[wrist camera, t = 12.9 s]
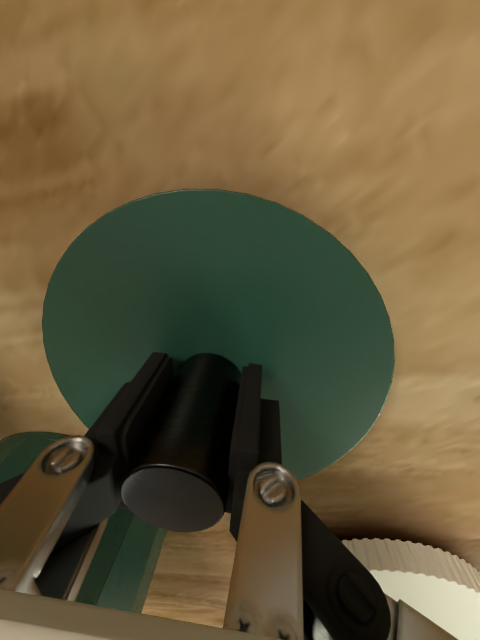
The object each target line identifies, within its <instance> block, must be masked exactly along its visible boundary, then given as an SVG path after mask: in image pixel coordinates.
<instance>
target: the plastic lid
mask: <svg viewBox="0 0 480 640" xmlns="http://www.w3.org/2000/svg"><path fill="white" fill-rule="evenodd" d="M342 543H343V544H344V545H345V546H346V547H347V549H348V550H349V551H350V552H351V553H352V554H353V555H354V556H355V557H356V558H357V559H358V560H359V561H360V562H361V563H362V564H363V565H364V567H365V568H366V569H367V570H368V571H369V572H370V573H371V574H372V575H373V577H374V578H375V579H376V581H377V582H378V583H379V585H380V587H381V588H382V590H383V592H384V593H385V594H386V595H388V596H389V597H391V598H392V599H394V600H395V601H396V602H398V601H399V599H401V600H402V601H404V602H405V603H406V604H408V605H409V606H411V607H412V608H414V609H415V610H417V611H418V612H419V613H421V614H422V615H424V616H425V617H427V618H428V619H430V620H431V621H432V622H434V623H435V624H437V625H438V626H440V627H441V628H442V629H444V630H445V631H447V632H448V633H450V634H451V635H453V636H454V637H455V638H457V639H458V640H480V572H478V571H477V569H476V568H473V567H472V565H471V564H470V563H466V561H465V560H464V559H459V557H458V556H457V555H451V553H450V552H448V551H446V552H443V551H442V549H440V548H436V549H434V548H433V547H432V546H430V545H427V546H423V545H422V543H416V544H414V543H412V542H411V541H406V542H402V541H401V540H398V539H396V540H394V541H393V540H390V539H386V538H385V539H384V540H379V538H374V539H372V540H369V539H368V538H363V539H362V540H358V539H352V540H351V541H348V540H342Z"/></svg>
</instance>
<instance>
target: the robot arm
mask: <svg viewBox="0 0 480 640" xmlns="http://www.w3.org/2000/svg"><path fill="white" fill-rule="evenodd" d="M173 379H174V378H173V359H172V358H171V357H169V356H168V354H167V353H159V352H153V353H152V354H151V355H150V356H149V358H148V359H147V360H146V362H145V363H144V364H143V366H142V367H141V368H140V370H139V371H138V373H137V374H136V375H135V377H134V378H133V379H132V381H131V382H126V383H125V384H124V385H123V386H122V387H121V388H120V390H119V391H118V392H117V394H116V395H115V396H114V398H113V399H112V400H111V402H110V403H109V404H108V405H107V407H106V408H105V409H104V411H103V412H102V413H101V415H100V416H99V417H98V419H97V420H96V421H95V422H94V424H93V425H92V426H91V428H90V429H89V430H88V432H87V433H86V434H85V436H80V435H78V436H69V437H66V438H62V439H60V440H58V441H56V442H54V443H52V444H51V445H50V446H48V447H47V448H46V449H45V450H44V451H43V452H42V453H41V454H40V455H39V456H38V457H37V459H36V460H35V461H34V462H33V464H32V465H31V466H30V468H29V469H28V470H27V471H26V472H24V473H22V474H20V475H18V476H15V477H13V478H11V479H9V480H7V481H4V482H2V483H0V640H458V639H457V638H455V637H454V636H453V635H451V634H450V633H448V632H447V631H445V630H444V629H442V628H441V627H440V626H438V625H437V624H435V623H434V622H432V621H431V620H430V619H428V618H427V617H425V616H424V615H422V614H421V613H419V612H418V611H417V610H415V609H414V608H412V607H411V606H409V605H408V604H406V603H405V602H404V601H402V600H401V599H399V601H398V602H396V601H395V600H394V599H392V598H391V597H389V596H388V595H386V594H385V593H384V592H383V590H382V588H381V587H380V585H379V583H378V582H377V581H376V579H375V578H374V577H373V575H372V574H371V573H370V572H369V571H368V570H367V569H366V568H365V567H364V565H363V564H362V563H361V562H360V561H359V560H358V559H357V558H356V557H355V556H354V555H353V554H352V553H351V552H350V551H349V550H348V549H347V547H346V546H345V545H344V544H343V543H342V542H341V541H340V540H339V539H338V538H337V537H336V536H335V535H334V534H333V533H332V532H331V531H330V530H329V528H328V527H327V526H326V525H325V524H324V523H323V522H322V521H321V520H320V519H319V518H318V517H317V516H316V515H315V514H314V513H313V512H312V510H311V509H310V508H309V507H308V506H307V505H306V504H305V503H304V502H303V501H302V500H301V491H300V486H299V482H298V480H297V478H296V476H295V475H294V474H293V473H292V472H291V471H290V470H289V469H288V468H286V467H285V466H284V465H282V452H281V430H280V408H279V401H278V400H270V399H261V381H262V364H254V363H249V365H248V366H243V369H242V375H241V381H240V388H239V394H238V401H237V407H236V413H235V420H234V426H233V433H232V439H231V446H230V456H229V468H228V481H229V489H228V496H227V503H226V510H225V512H227V513H231V520H230V532H231V534H232V535H233V537H234V538H235V540H236V541H237V546H236V552H235V558H234V564H233V570H232V576H231V582H230V588H229V594H228V600H227V606H226V612H225V618H224V624H223V628H218V627H213V626H207V625H202V624H196V623H191V622H185V621H180V620H174V619H169V618H163V617H158V616H152V615H147V614H141V613H135V612H130V611H124V610H118V609H113V608H107V607H101V606H96V605H90V604H84V603H79V602H75V600H76V597H77V595H78V592H79V590H80V588H81V585H82V583H83V580H84V578H85V576H86V573H87V571H88V568H89V566H90V563H91V561H92V559H93V556H94V554H95V551H96V549H97V547H98V544H99V542H100V539H101V537H102V535H103V532H104V530H105V527H106V525H107V522H108V518H109V517H110V516H111V515H113V514H114V513H115V512H116V510H117V508H124V509H128V508H127V507H126V505H125V504H124V502H123V500H122V498H121V495H120V483H121V480H122V477H123V475H124V473H125V472H126V470H127V468H128V466H129V464H130V462H131V460H132V458H133V456H134V454H135V452H136V450H137V448H138V446H139V444H140V443H141V441H142V439H143V437H144V435H145V433H146V431H147V429H148V427H149V425H150V423H151V421H152V419H153V417H154V416H155V414H156V412H157V410H158V408H159V406H160V404H161V402H162V400H163V398H164V396H165V394H166V392H167V390H168V389H169V387H170V385H171V383H172V381H173Z"/></svg>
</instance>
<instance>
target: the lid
mask: <svg viewBox="0 0 480 640" xmlns="http://www.w3.org/2000/svg"><path fill="white" fill-rule="evenodd" d="M42 328H43V342H44V347H45V351H46V356H47V361H48V363H49V366H50V369H51V372H52V374H53V377H54V379H55V381H56V383H57V385H58V387H59V389H60V391H61V393H62V395H63V396H64V398H65V400H66V401H67V403H68V404H69V406H70V407H71V409H72V410H73V411H74V412H75V414H76V415H77V416H78V417H79V419H80V420H81V421H82V422H83V423H84V424H85V425H86V426H87V427H88V428H89V429H90V428H91V426H92V425H93V424H94V422H95V421H96V420H97V419H98V417H99V416H100V415H101V413H102V412H103V411H104V409H105V408H106V407H107V405H108V404H109V403H110V402H111V400H112V399H113V398H114V396H115V395H116V394H117V392H118V391H119V390H120V388H121V387H122V386H123V385H124V384H125V383H126V382H131V381H132V379H133V378H134V377H135V375H136V374H137V373H138V371H139V370H140V368H141V367H142V366H143V364H144V363H145V362H146V360H147V359H148V358H149V356H150V355H151V354H152V353H153V352H159V353H167V354H168V356H169V357H171V358H172V359H173V378H174V379H173V381H172V383H171V385H170V387H169V389H168V390H167V392H166V394H165V396H164V398H163V400H162V402H161V404H160V406H159V408H158V410H157V412H156V414H155V416H154V417H153V419H152V421H151V423H150V425H149V427H148V429H147V431H146V433H145V435H144V437H143V439H142V441H141V443H140V444H139V446H138V448H137V450H136V452H135V454H134V456H133V458H132V460H131V462H130V464H129V466H128V468H127V470H126V472H125V473H124V475H123V477H122V480H121V483H120V495H121V498H122V500H123V502H124V504H125V505H126V507H127V508H128V509H129V510H130V511H131V512H132V513H133V514H134V515H136V516H137V517H138V518H140V519H141V520H143V521H145V522H147V523H149V524H151V525H153V526H156V527H159V528H162V529H165V530H170V531H175V532H197V531H202V530H205V529H208V528H210V527H212V526H214V525H215V524H217V523H218V522H219V521H220V520H221V518H222V517H223V515H224V513H225V510H226V503H227V496H228V489H229V481H228V468H229V456H230V446H231V439H232V433H233V426H234V420H235V413H236V407H237V401H238V394H239V388H240V381H241V375H242V369H243V366H248V365H249V363H254V364H262V381H261V399H270V400H278V401H279V408H280V430H281V452H282V465H284V466H285V467H286V468H288V469H289V470H290V471H291V472H292V473H293V474H294V475H295V476H296V478H297V480H299V479H302V478H305V477H308V476H310V475H312V474H314V473H316V472H318V471H321V470H323V469H325V468H326V467H328V466H330V465H331V464H333V463H334V462H336V461H337V460H339V459H341V458H342V457H343V456H344V455H345V454H347V453H348V452H349V451H350V450H351V449H353V448H354V447H355V446H356V445H357V444H358V443H359V442H360V441H361V440H362V438H363V437H364V436H365V435H366V434H367V433H368V431H369V430H370V429H371V427H372V426H373V424H374V423H375V421H376V420H377V418H378V417H379V414H380V412H381V410H382V408H383V406H384V404H385V402H386V400H387V396H388V393H389V390H390V387H391V383H392V377H393V370H394V363H395V359H394V338H393V333H392V328H391V323H390V319H389V315H388V313H387V310H386V308H385V305H384V302H383V300H382V297H381V295H380V293H379V291H378V290H377V288H376V286H375V285H374V283H373V281H372V279H371V278H370V276H369V274H368V273H367V271H366V270H365V269H364V268H363V266H362V265H361V264H360V263H359V262H358V260H357V259H356V258H355V257H354V255H353V254H352V253H351V252H350V251H349V250H348V249H347V248H346V247H345V246H344V245H342V244H341V243H340V242H339V241H338V240H337V239H336V238H335V237H334V236H332V235H331V234H330V233H329V232H328V231H326V230H325V229H323V228H322V227H320V226H319V225H317V224H316V223H314V222H312V221H311V220H309V219H308V218H306V217H305V216H303V215H302V214H300V213H297V212H295V211H293V210H291V209H289V208H287V207H285V206H283V205H280V204H278V203H276V202H273V201H270V200H266V199H263V198H260V197H257V196H253V195H250V194H246V193H239V192H233V191H226V190H220V189H182V190H175V191H168V192H162V193H156V194H153V195H149V196H146V197H143V198H140V199H137V200H133V201H130V202H128V203H126V204H124V205H122V206H120V207H118V208H116V209H114V210H112V211H110V212H108V213H106V214H105V215H104V216H102V217H101V218H99V219H98V220H97V221H95V222H94V223H93V224H91V225H90V226H88V227H87V228H86V229H85V230H84V231H83V232H82V233H81V234H80V235H79V236H78V237H77V238H76V239H75V240H74V241H73V242H72V243H71V245H70V246H69V247H68V249H67V250H66V252H65V253H64V255H63V256H62V258H61V259H60V261H59V262H58V264H57V266H56V268H55V270H54V273H53V275H52V277H51V279H50V282H49V284H48V288H47V292H46V296H45V300H44V306H43V318H42Z"/></svg>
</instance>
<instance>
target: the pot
mask: <svg viewBox="0 0 480 640" xmlns="http://www.w3.org/2000/svg"><path fill="white" fill-rule="evenodd" d="M66 437H69V435H64V434H58V433H50V432H26V433H19V434H15V435H11V436H8V437H6V438H4V439H2V440H0V483H2V482H4V481H7V480H9V479H11V478H13V477H15V476H18V475H20V474H22V473H24V472H26V471H27V470H28V469H29V468H30V466H31V465H32V464H33V462H34V461H35V460H36V459H37V457H38V456H39V455H40V454H41V453H42V452H43V451H44V450H45V449H46V448H47V447H48V446H50V445H51V444H52V443H54V442H56V441H58V440H60V439H62V438H66ZM165 534H166V530H165V529H162V528H159V527H156V526H153V525H151V524H149V523H147V522H145V521H143V520H141V519H140V518H138V517H137V516H136V515H134V514H133V513H132V512H131V511H130V510H129V509H124V508H117V510H116V512H115V513H114V514H113V515H111V516H110V517H109V518H108V522H107V525H106V527H105V530H104V532H103V535H102V537H101V539H100V542H99V544H98V547H97V549H96V551H95V554H94V556H93V559H92V561H91V563H90V566H89V568H88V571H87V573H86V576H85V578H84V580H83V583H82V585H81V588H80V590H79V592H78V595H77V597H76V600H75V602H79V603H84V604H90V605H96V606H101V607H107V608H113V609H118V610H124V611H130V612H135V613H141V612H142V609H143V606H144V602H145V599H146V596H147V593H148V589H149V586H150V583H151V580H152V576H153V573H154V570H155V567H156V563H157V560H158V557H159V554H160V550H161V547H162V544H163V541H164V537H165Z"/></svg>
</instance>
